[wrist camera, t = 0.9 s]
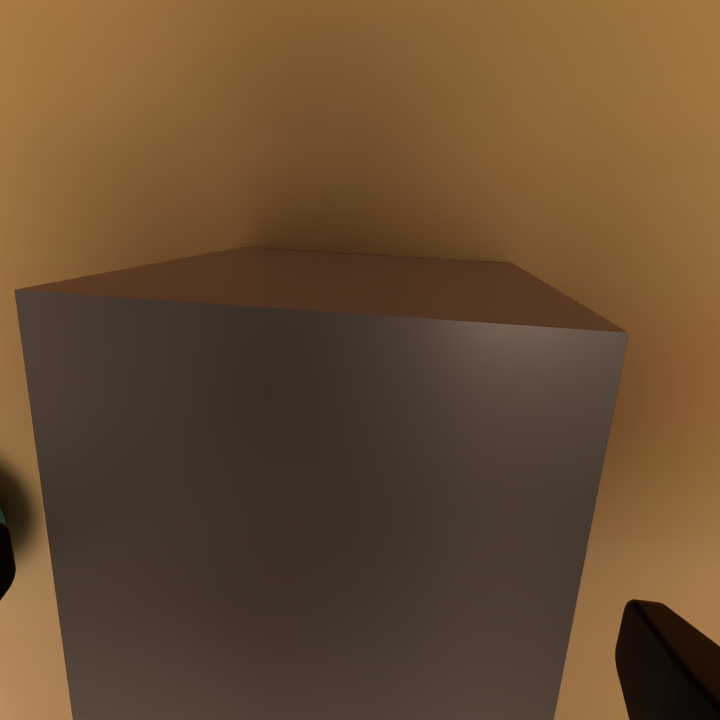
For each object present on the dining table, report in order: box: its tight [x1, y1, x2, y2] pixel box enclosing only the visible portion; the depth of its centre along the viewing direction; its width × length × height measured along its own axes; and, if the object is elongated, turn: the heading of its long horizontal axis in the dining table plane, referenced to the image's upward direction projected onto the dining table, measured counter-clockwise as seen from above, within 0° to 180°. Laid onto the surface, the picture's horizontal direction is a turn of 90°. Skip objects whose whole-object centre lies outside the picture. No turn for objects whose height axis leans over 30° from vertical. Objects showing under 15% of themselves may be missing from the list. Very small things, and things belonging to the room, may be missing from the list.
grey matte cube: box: [15, 247, 628, 720], centre depth 12 cm, size 8×8×9 cm
